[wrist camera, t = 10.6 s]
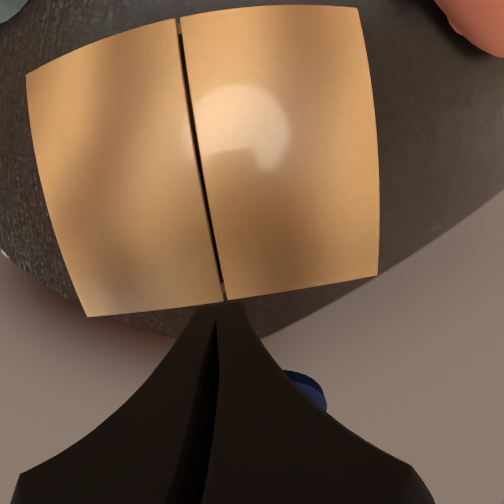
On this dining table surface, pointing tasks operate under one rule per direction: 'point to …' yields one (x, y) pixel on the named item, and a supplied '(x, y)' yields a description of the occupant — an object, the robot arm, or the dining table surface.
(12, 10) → the cup
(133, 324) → the dining table surface
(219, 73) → the flap
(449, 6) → the teapot
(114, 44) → the wooden box
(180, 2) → the dining table surface
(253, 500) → the robot arm
